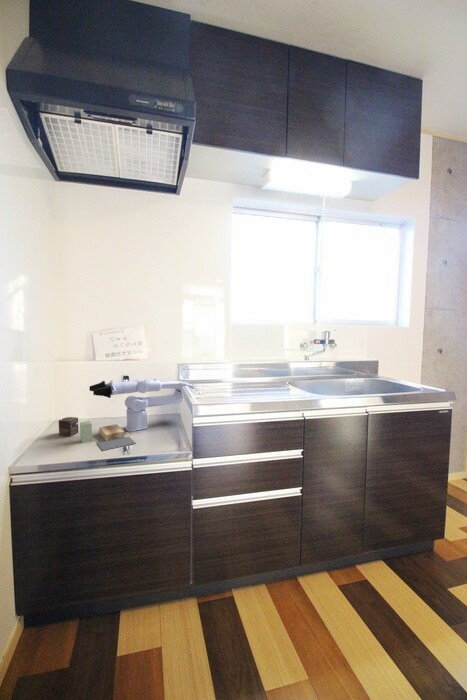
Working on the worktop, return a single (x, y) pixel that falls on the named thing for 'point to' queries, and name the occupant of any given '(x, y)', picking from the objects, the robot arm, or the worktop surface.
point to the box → (68, 426)
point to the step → (111, 432)
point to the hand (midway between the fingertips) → (91, 390)
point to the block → (86, 431)
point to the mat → (115, 443)
